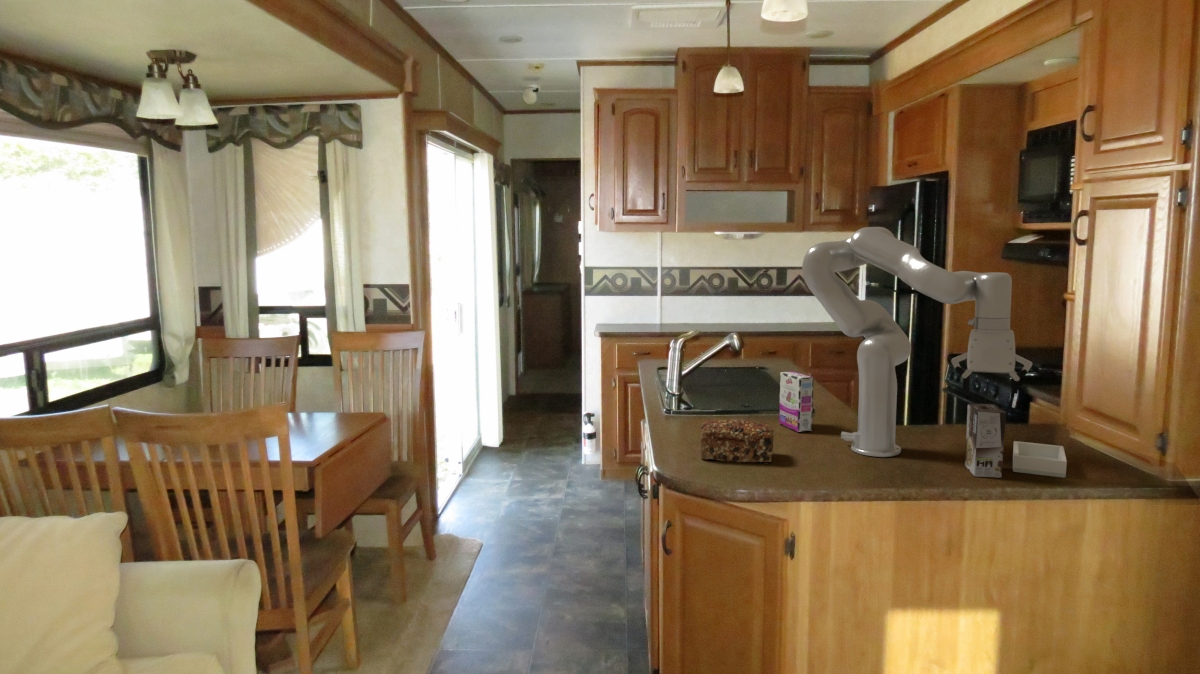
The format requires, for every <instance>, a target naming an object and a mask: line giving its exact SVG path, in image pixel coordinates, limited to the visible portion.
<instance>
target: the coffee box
mask: <svg viewBox="0 0 1200 674" xmlns="http://www.w3.org/2000/svg"><path fill="white" fill-rule="evenodd" d="M966 412H967V413H966V431H965V432H966V434H965V454H964V456H965V457H964V466H965V468H967V470H968V469H969V470H970V471H969V470H968V471H969V472H970V473H971V474H972V475H973V476H974V477H979V478H981V477H982V478H997V479H998V478H1000V479H1001V478H1002V475H1003V474H1002V473H1003V459H1004V445H1005V431H1006V429H1005V428H1006V418H1007V415H1006V414H1007V412H1006V411H1004V410H1003V409H1002V408H1000V407H999V406H997V405H996V404H994V403H968V404H967V411H966Z"/></svg>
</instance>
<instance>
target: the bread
mask: <svg viewBox="0 0 1200 674" xmlns="http://www.w3.org/2000/svg"><path fill="white" fill-rule="evenodd" d="M769 424H770V423H763V422H759V421H756V422H755V421H751V420H747V419H723V420H722V419H717V418H712V419H707V420H706V421H703V422H702V423H701V426H700V456H701V460H705V459H706V461H708V459H709V460H714V461H718V460H722V461H721V462H725V461H726V462H729V461H739V462H738V463H741V462H740V461H742V462H750V463H757V462H760V463H761V462H770V463H771V462H772V458H773V448H774V428H772V427H771V425H769ZM723 460H724V461H723Z"/></svg>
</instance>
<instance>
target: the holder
mask: <svg viewBox="0 0 1200 674" xmlns="http://www.w3.org/2000/svg"><path fill="white" fill-rule="evenodd" d="M1012 448H1013V449H1012V472H1015V473H1023V474H1029V475H1038V476H1039V475H1040V476H1047V477H1054V478H1055V477H1056V478H1062V479H1064V478H1066V477H1067V465H1068V462H1067V461H1068V460H1067V456H1066V453H1065V447H1064V446H1063V445H1055V444H1047V443H1046V444H1045V443H1038V442H1037V443H1035V442H1028V441H1027V442H1026V441H1025V442H1024V441H1016V440H1014V441H1013V447H1012Z"/></svg>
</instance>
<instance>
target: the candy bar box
mask: <svg viewBox="0 0 1200 674" xmlns="http://www.w3.org/2000/svg"><path fill="white" fill-rule="evenodd" d="M779 374H780V375H779V410H778V411H779V415H778V416H779V418H778V424H779V423H781V424H783V425H785V426H787V427H789V428H791V429H793V430H792V431H794V430H795V431H794V432H796V431H797V432H796V433H798V432H802V433H806V432H805V431H811V432H812V431H813V408H814V381H815V380H814V379H815V378H814V377H813V376H810V375H806V374H803V373H800V372H796V371H793V370H791V371H782V372H780V373H779ZM787 427H786V428H787ZM789 428H788V429H789ZM791 429H790V430H791Z"/></svg>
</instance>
